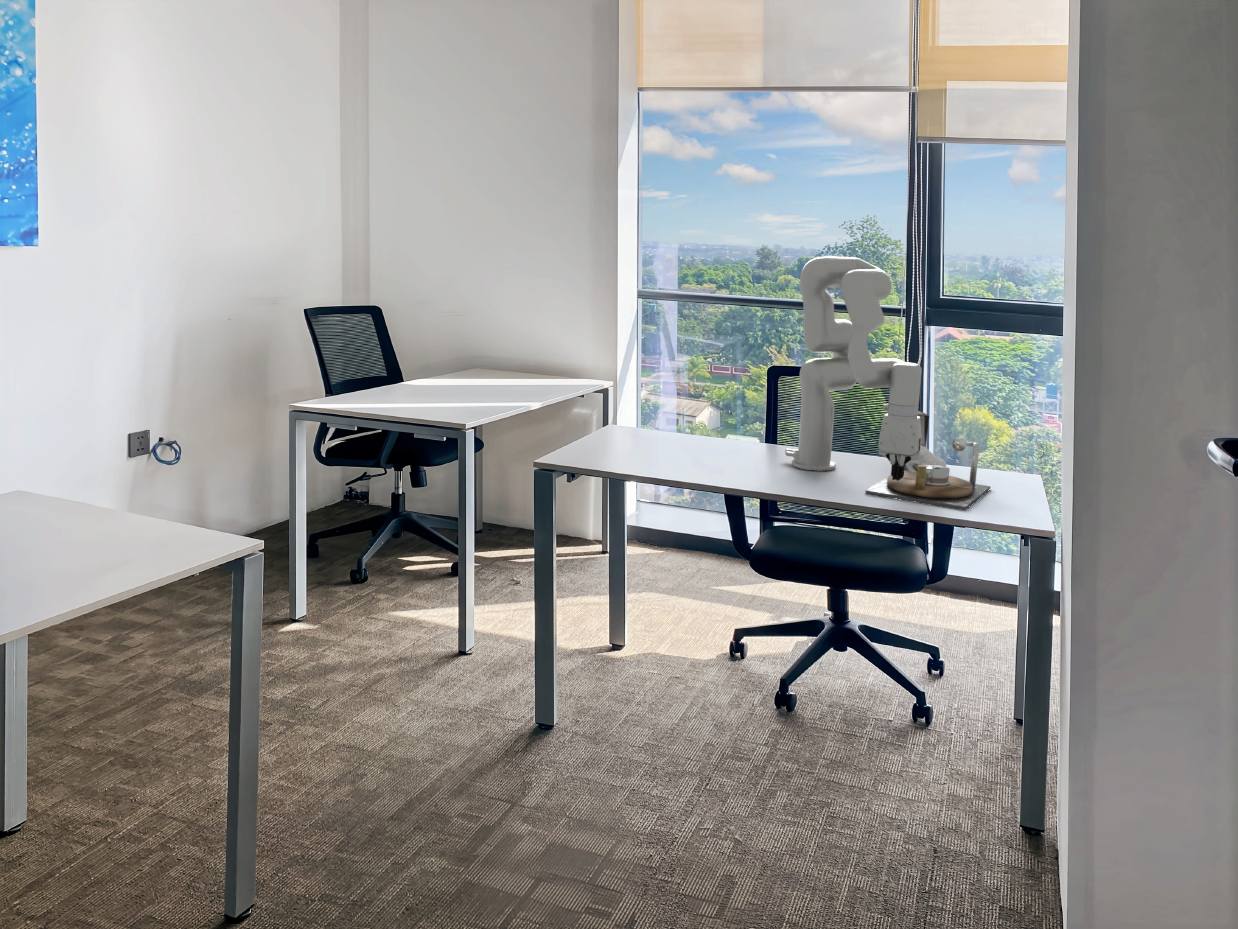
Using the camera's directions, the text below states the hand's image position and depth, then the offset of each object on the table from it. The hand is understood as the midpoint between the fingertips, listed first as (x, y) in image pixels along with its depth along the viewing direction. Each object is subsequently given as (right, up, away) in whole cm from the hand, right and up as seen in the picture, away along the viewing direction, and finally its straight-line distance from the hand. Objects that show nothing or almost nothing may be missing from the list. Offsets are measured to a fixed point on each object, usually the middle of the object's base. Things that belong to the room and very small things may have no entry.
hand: (897, 479), depth 274 cm
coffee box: (+13, +3, +34) cm, 36 cm away
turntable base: (+10, -3, +5) cm, 11 cm away
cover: (+11, -1, +3) cm, 11 cm away
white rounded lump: (+14, +1, +25) cm, 29 cm away
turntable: (+10, -2, +4) cm, 11 cm away
